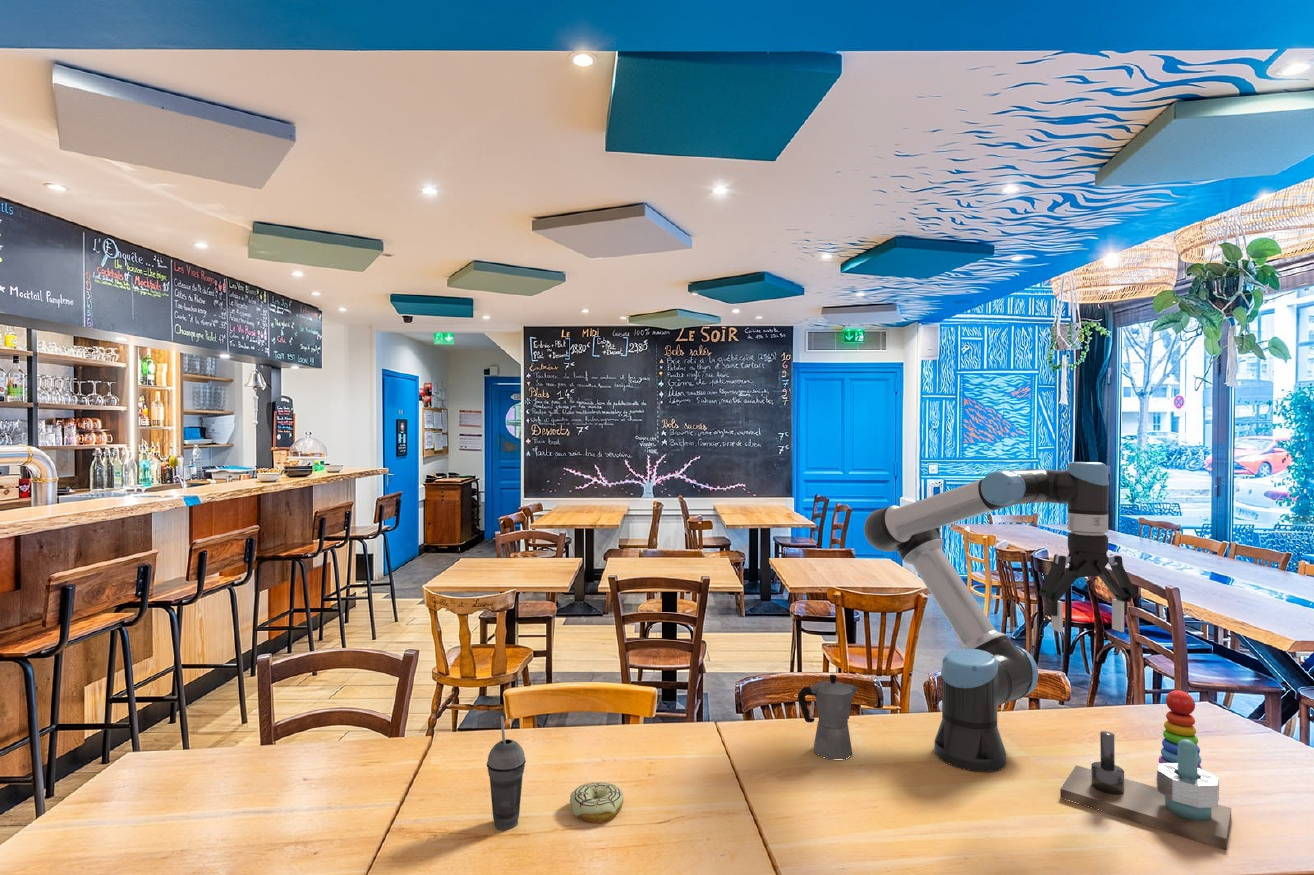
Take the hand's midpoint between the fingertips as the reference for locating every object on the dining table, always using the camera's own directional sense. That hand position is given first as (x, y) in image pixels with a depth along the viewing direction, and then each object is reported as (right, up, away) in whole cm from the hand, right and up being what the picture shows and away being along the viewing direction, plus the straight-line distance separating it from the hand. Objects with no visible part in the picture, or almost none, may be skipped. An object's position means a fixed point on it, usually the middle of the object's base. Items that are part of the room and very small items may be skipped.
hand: (1087, 630), depth 149 cm
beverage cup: (-122, -31, -19) cm, 128 cm away
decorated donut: (-106, -32, -14) cm, 111 cm away
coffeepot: (-54, -32, +11) cm, 63 cm away
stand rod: (-2, -29, -9) cm, 31 cm away
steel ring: (+8, -26, -18) cm, 33 cm away
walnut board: (+3, -31, -13) cm, 34 cm away
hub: (+8, -29, -18) cm, 35 cm away
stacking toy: (+19, -32, -2) cm, 37 cm away
